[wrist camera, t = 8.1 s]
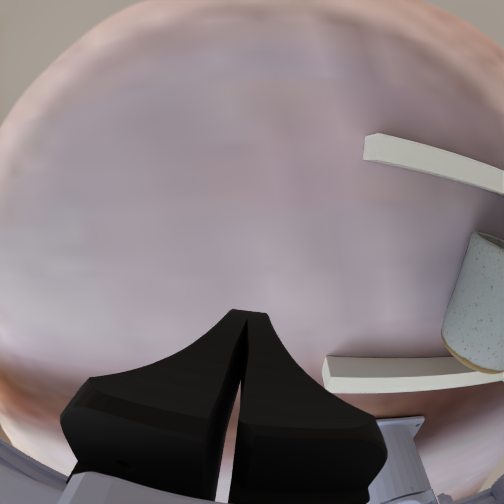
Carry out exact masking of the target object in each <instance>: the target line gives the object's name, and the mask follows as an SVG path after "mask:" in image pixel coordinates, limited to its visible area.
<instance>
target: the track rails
mask: <svg viewBox="0 0 504 504" xmlns="http://www.w3.org/2000/svg"><path fill="white" fill-rule="evenodd" d="M363 160H367V161H372V162H377V163H382V164H387V165H392V166H396V167H401V168H406V169H410V170H414V171H419V172H423V173H427V174H431V175H435V176H439V177H443V178H446V179H450V180H454V181H457V182H461V183H465V184H468V185H471V186H475V187H478V188H481V189H485V190H488V191H491V192H494V193H497V194H500V195H503V196H504V171H503V170H500V169H498V168H495V167H493V166H490V165H487V164H485V163H482V162H479V161H476V160H473V159H470V158H467V157H464V156H461V155H458V154H455V153H452V152H449V151H446V150H442V149H439V148H435V147H432V146H428V145H425V144H421V143H417V142H414V141H410V140H406V139H402V138H398V137H394V136H389V135H385V134H380V133H377V134H373V135H369V136H365V145H364V154H363ZM322 375H323V381H324V386H325V389H326V390H328V391H329V392H330V393H392V392H411V391H425V390H436V389H446V388H455V387H463V386H471V385H477V384H484V383H490V382H496V381H501V380H503V378H504V372H503V373H499V374H485V373H481V372H478V371H475V370H473V369H471V368H469V367H467V366H465V365H464V364H462V363H461V362H460V361H458V360H457V359H456V358H455V357H432V358H357V357H333V356H326V358H325V361H324V365H323V369H322Z"/></svg>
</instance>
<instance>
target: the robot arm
mask: <svg viewBox="0 0 504 504" xmlns="http://www.w3.org/2000/svg"><path fill="white" fill-rule="evenodd" d="M240 381H241V396H240V413H239V418H238V426H237V435H236V444H235V453H234V461H233V470H232V478H231V485H230V492H229V499H228V503H221V502H215V497H216V491H217V485H218V478H219V472H220V466H221V460H222V454H223V448H224V442H225V436H226V432H227V427H228V423H229V420H230V416H231V413H232V409H233V406H234V402H235V399H236V395H237V392H238V388H239V384H240ZM424 420H425V418H424V417H423V416H416V417H406V418H394V419H378V420H376V419H375V417H374V416H373V415H371V414H369V413H367V412H364V411H362V410H360V409H358V408H356V407H354V406H352V405H350V404H348V403H346V402H345V401H343V400H341V399H340V398H338V397H337V396H335V395H333V394H332V393H330V392H329V391H328V390H326V389H325V388H323V387H322V386H321V385H320V384H318V383H317V382H316V381H315V380H314V379H312V378H311V377H310V376H309V375H308V374H307V373H306V372H305V371H304V370H303V369H302V368H301V367H300V366H299V365H298V364H297V363H296V362H295V360H294V359H293V358H292V357H291V355H290V354H289V353H288V351H287V350H286V348H285V347H284V345H283V344H282V342H281V340H280V339H279V337H278V336H277V334H276V332H275V330H274V328H273V326H272V324H271V321H270V319H269V316H268V315H267V313H261V312H252V311H244V310H236V309H232V310H230V311H229V312H228V313H227V314H226V315H225V316H224V317H223V318H222V319H221V320H220V321H219V322H218V323H217V324H216V325H215V326H214V327H213V328H211V329H210V330H209V331H208V332H207V333H206V334H204V335H203V336H202V337H200V338H199V339H198V340H196V341H195V342H194V343H192V344H191V345H189V346H188V347H186V348H185V349H183V350H181V351H179V352H177V353H175V354H173V355H171V356H169V357H167V358H164V359H162V360H160V361H157V362H155V363H153V364H150V365H147V366H144V367H141V368H137V369H134V370H130V371H126V372H121V373H116V374H110V375H104V376H98V377H89V379H88V380H87V381H86V382H85V383H84V384H83V385H82V386H81V387H80V389H79V390H78V391H77V393H76V394H75V396H74V397H73V398H72V400H71V401H70V402H69V404H68V405H67V406H66V408H65V409H64V411H63V412H62V413H61V415H60V424H61V427H62V430H63V433H64V435H65V437H66V439H67V441H68V443H69V445H70V447H71V449H72V451H73V453H74V455H75V457H76V459H77V460H78V462H77V464H76V465H75V467H74V469H73V471H72V472H71V474H70V476H69V477H68V476H66V475H64V474H62V473H60V472H58V471H56V470H54V469H52V468H50V467H48V466H46V465H44V464H42V463H40V462H39V461H37V460H35V459H33V458H31V457H30V456H28V455H26V454H25V453H23V452H21V451H20V450H18V449H16V448H15V447H13V446H12V445H10V444H9V443H7V442H5V441H4V440H2V439H1V438H0V504H438V503H437V500H436V497H435V494H434V492H433V489H431V486H430V483H429V480H428V477H427V474H426V472H425V469H424V466H423V464H422V461H421V458H420V456H419V453H418V450H417V448H416V445H415V443H414V440H413V438H414V437H415V435H416V433H417V432H418V430H419V429H420V427H421V425H422V424H423V422H424ZM437 497H438V500H439V502H440V504H504V474H503V475H502V476H501V477H500V478H499V479H498V480H497V481H496V482H495V483H494V484H493V485H492V487H491V488H489V489H486V490H484V491H482V492H479V493H476V494H474V495H471V496H469V497H466V498H463V499H460V500H457V501H454V502H453V499H452V497H451V496H450V495H445V494H444V493H442V494H440V495H438V496H437Z"/></svg>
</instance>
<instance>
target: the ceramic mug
mask: <svg viewBox="0 0 504 504" xmlns="http://www.w3.org/2000/svg"><path fill="white" fill-rule="evenodd" d="M441 335H442V339H443V342H444V344H445V346H446V348H447V349H448V351H449V352H450V353H451V354H452V355H453V356H454V357H455V358H456V359H457V360H458V361H460V362H461V363H462V364H464V365H465V366H467V367H469V368H471V369H473V370H475V371H478V372H481V373H485V374H499V373H503V372H504V240H502V239H499V238H496V237H494V236H492V235H488V234H485V233H483V232H477V231H474V232H473V233H472V234H471V237H470V240H469V245H468V249H467V252H466V255H465V258H464V261H463V264H462V268H461V271H460V274H459V277H458V280H457V283H456V286H455V289H454V292H453V295H452V297H451V300H450V302H449V304H448V307H447V310H446V313H445V316H444V320H443V323H442V329H441Z"/></svg>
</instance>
